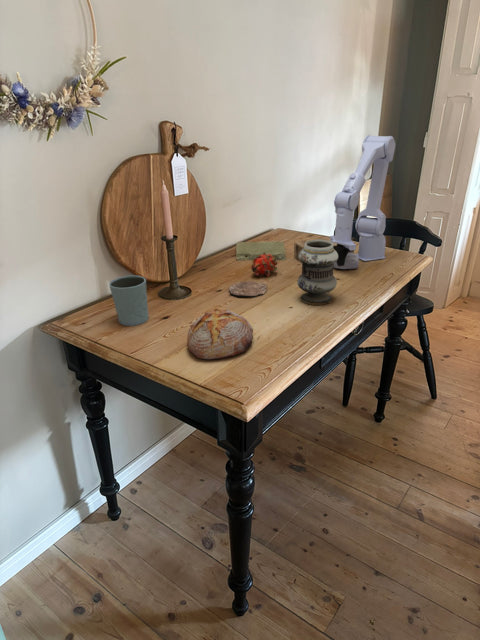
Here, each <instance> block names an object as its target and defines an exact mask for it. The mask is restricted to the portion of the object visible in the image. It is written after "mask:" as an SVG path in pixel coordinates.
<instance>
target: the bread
mask: <svg viewBox="0 0 480 640" xmlns="http://www.w3.org/2000/svg"><path fill="white" fill-rule="evenodd" d="M189 327H190V328H189V329H188V332H187V338H186V339H187V341H186V346H187V348H188V350H189V352H191V353H192V355H194V356H195V357H196V358H198V359H201V360H217V359H218V360H219V359H223V358H228V357H234V356H237V355H241V354H244V353H246V351H247V350H248V348H249V347H250V346H251V344H252V342H253V338H254V337H253V333H254V328H253V327H252V325H251V324H250V322H249V321H248V319H246V318H245V317H244V316H241V314H238V313H235V312H233V311H231V310H229V309H224V310H223V309H221V310H219V309H217V308H216V309H212V310H211V311H208V312H204V314H203V315H201V316H200V317H198V318H197V319H196V320H195V321H194V322H193V323H191V324H190V325H189Z"/></svg>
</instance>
